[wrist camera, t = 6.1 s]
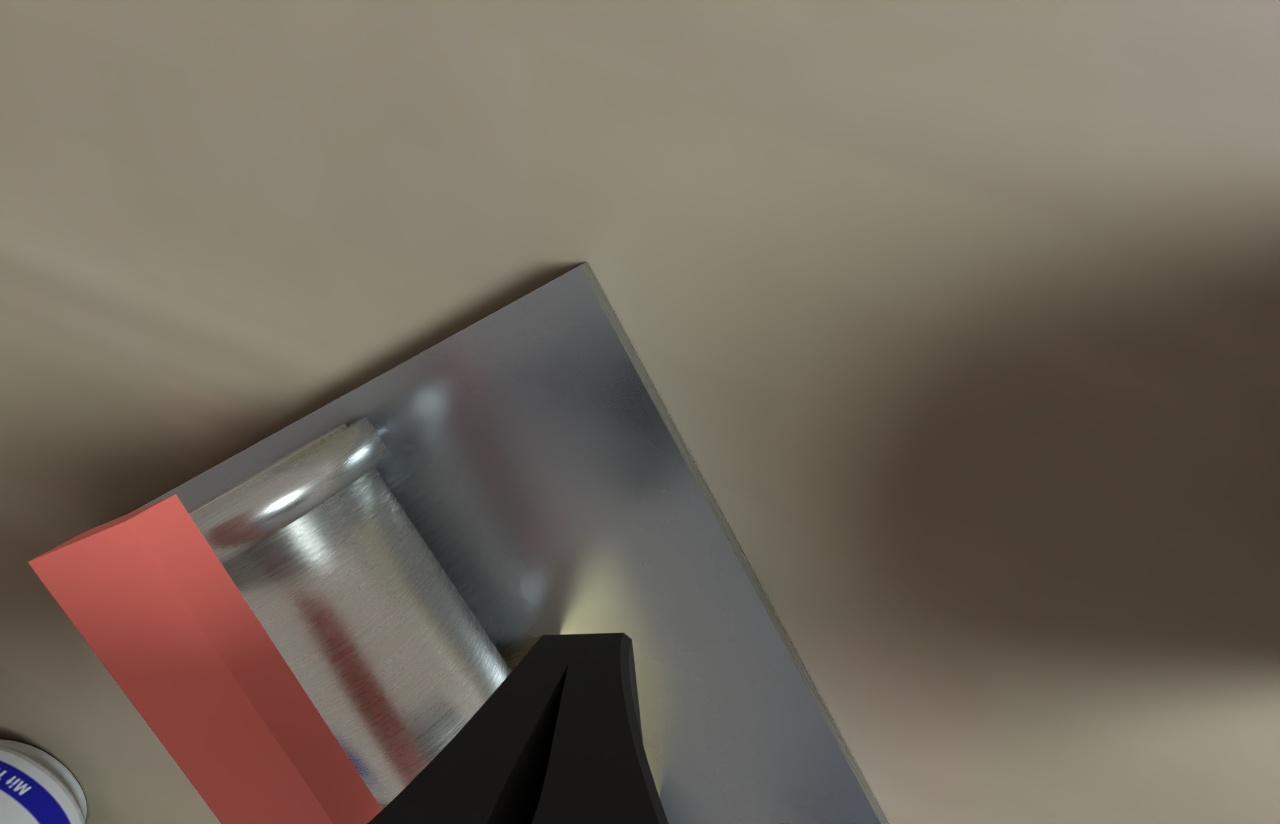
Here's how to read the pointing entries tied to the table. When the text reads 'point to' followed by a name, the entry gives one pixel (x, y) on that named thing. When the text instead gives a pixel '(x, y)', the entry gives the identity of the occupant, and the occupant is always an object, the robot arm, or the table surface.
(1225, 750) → the table surface
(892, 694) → the table surface
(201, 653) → the lever
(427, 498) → the valve assembly
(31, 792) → the beverage can
